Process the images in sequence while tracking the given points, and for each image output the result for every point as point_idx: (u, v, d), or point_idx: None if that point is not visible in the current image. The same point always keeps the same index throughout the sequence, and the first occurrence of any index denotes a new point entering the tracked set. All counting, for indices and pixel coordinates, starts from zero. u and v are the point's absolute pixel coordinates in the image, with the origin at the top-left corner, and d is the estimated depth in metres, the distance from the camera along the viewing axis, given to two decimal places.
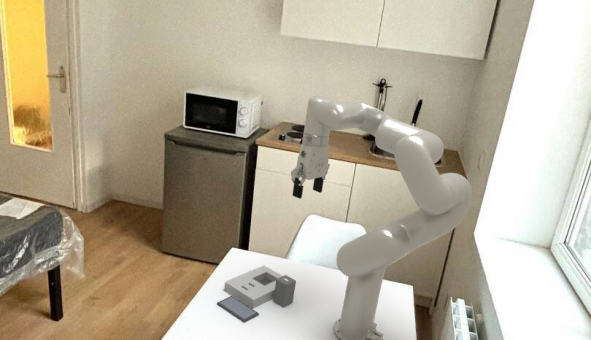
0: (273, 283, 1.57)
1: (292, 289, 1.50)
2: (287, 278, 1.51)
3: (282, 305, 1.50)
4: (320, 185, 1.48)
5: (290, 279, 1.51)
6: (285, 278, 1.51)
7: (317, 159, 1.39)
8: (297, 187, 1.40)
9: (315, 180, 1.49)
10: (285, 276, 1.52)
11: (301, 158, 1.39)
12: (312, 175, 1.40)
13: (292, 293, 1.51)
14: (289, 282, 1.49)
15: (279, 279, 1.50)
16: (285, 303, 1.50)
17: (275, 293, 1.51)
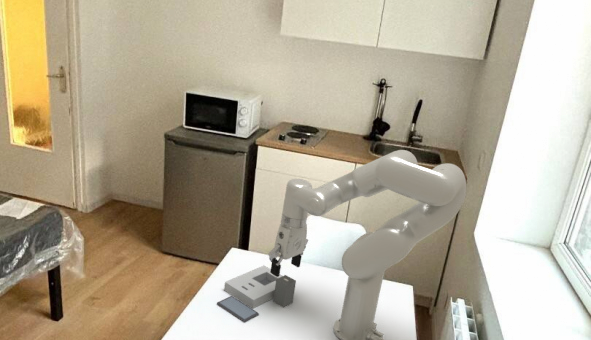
0: (273, 283, 1.57)
1: (292, 289, 1.50)
2: (287, 278, 1.51)
3: (282, 305, 1.50)
4: (298, 260, 1.51)
5: (290, 279, 1.51)
6: (285, 278, 1.51)
7: (295, 239, 1.43)
8: (275, 266, 1.44)
9: None
10: (285, 276, 1.52)
11: (279, 239, 1.42)
12: (289, 255, 1.44)
13: (292, 293, 1.51)
14: (289, 282, 1.49)
15: (279, 279, 1.50)
16: (285, 303, 1.50)
17: (275, 293, 1.51)
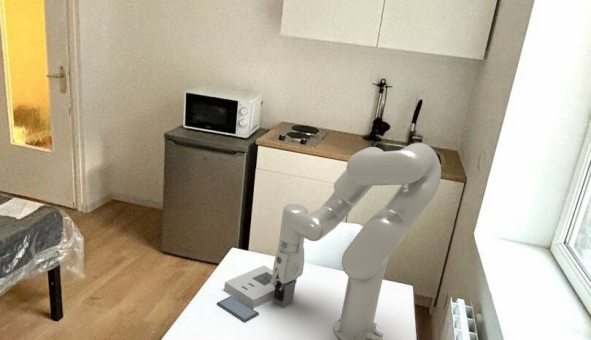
0: None
1: (292, 289, 1.50)
2: None
3: (282, 305, 1.50)
4: None
5: None
6: None
7: (293, 263, 1.45)
8: (278, 291, 1.48)
9: None
10: None
11: (277, 263, 1.45)
12: (288, 279, 1.46)
13: (292, 293, 1.51)
14: (289, 282, 1.49)
15: None
16: (285, 303, 1.50)
17: None
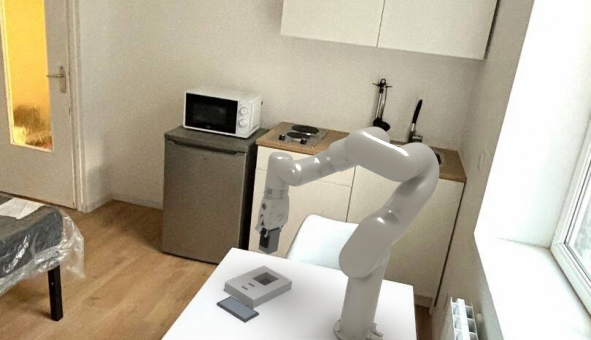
0: (273, 283, 1.57)
1: (277, 236, 1.54)
2: None
3: (267, 252, 1.53)
4: None
5: None
6: None
7: (277, 210, 1.49)
8: (263, 238, 1.52)
9: None
10: None
11: (262, 210, 1.48)
12: (272, 225, 1.49)
13: (277, 240, 1.55)
14: (274, 229, 1.53)
15: None
16: (270, 250, 1.53)
17: None
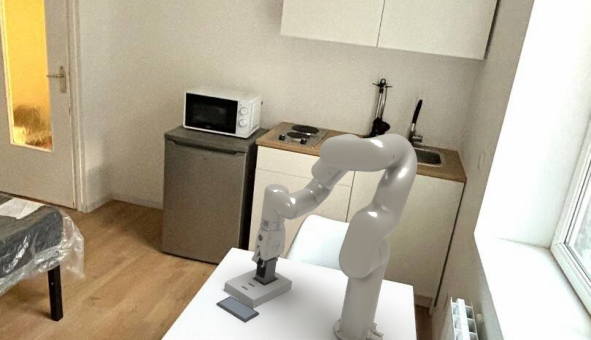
0: (273, 283, 1.57)
1: (273, 266, 1.57)
2: None
3: (263, 281, 1.56)
4: None
5: None
6: None
7: (274, 241, 1.52)
8: (260, 268, 1.55)
9: None
10: None
11: (258, 241, 1.51)
12: (269, 256, 1.52)
13: (273, 270, 1.58)
14: (270, 259, 1.56)
15: None
16: (266, 279, 1.56)
17: None
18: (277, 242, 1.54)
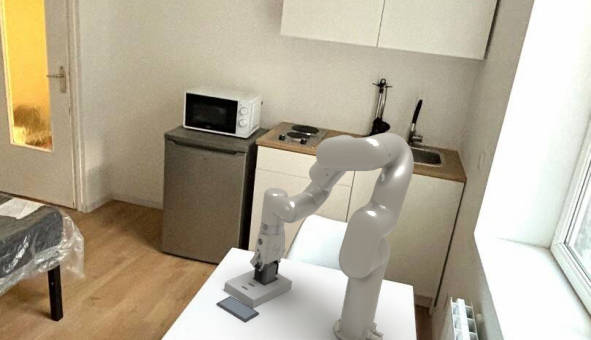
0: (273, 283, 1.57)
1: (273, 272, 1.58)
2: None
3: None
4: (276, 268, 1.60)
5: (271, 263, 1.58)
6: None
7: (273, 245, 1.52)
8: (257, 272, 1.54)
9: None
10: None
11: (258, 245, 1.51)
12: (269, 260, 1.53)
13: (273, 276, 1.58)
14: (270, 265, 1.56)
15: None
16: None
17: None
18: (277, 246, 1.54)
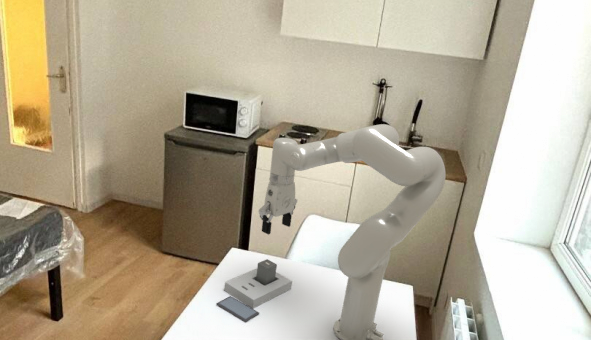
0: (273, 283, 1.57)
1: (273, 272, 1.58)
2: (268, 262, 1.58)
3: None
4: (288, 220, 1.56)
5: (271, 263, 1.58)
6: (266, 262, 1.58)
7: (284, 196, 1.48)
8: (265, 224, 1.48)
9: (284, 215, 1.57)
10: (267, 260, 1.59)
11: (268, 196, 1.47)
12: (279, 212, 1.48)
13: (273, 276, 1.58)
14: (270, 265, 1.56)
15: (261, 263, 1.57)
16: None
17: (257, 276, 1.58)
18: (287, 198, 1.50)
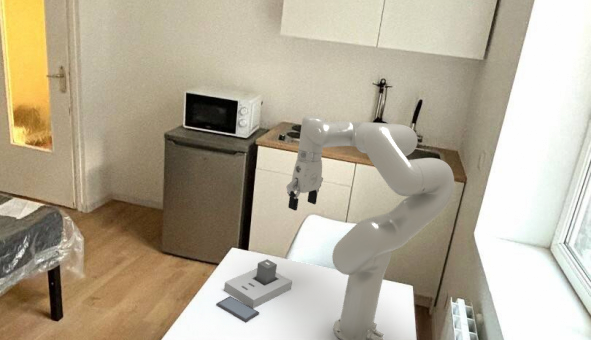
0: (273, 283, 1.57)
1: (273, 272, 1.58)
2: (268, 262, 1.58)
3: None
4: (314, 197, 1.58)
5: (271, 263, 1.58)
6: (266, 262, 1.58)
7: (311, 173, 1.50)
8: (292, 200, 1.50)
9: (309, 193, 1.59)
10: (267, 260, 1.59)
11: (296, 173, 1.49)
12: (306, 188, 1.50)
13: (273, 276, 1.58)
14: (270, 265, 1.56)
15: (261, 263, 1.57)
16: None
17: (257, 276, 1.58)
18: (314, 175, 1.51)
